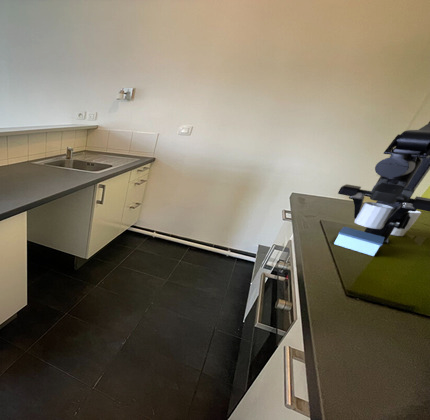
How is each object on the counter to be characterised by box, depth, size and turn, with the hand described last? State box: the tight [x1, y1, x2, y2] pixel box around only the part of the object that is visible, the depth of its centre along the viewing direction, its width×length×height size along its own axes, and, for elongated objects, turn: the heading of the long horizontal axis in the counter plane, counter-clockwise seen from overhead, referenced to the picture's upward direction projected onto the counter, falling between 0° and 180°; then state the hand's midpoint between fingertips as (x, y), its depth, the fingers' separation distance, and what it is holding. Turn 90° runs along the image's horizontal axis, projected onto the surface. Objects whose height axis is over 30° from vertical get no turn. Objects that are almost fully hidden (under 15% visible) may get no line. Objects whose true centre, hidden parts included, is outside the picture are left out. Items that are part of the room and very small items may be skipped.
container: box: [333, 226, 385, 257], centre depth 83 cm, size 9×9×5 cm
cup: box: [353, 201, 395, 229], centre depth 78 cm, size 6×6×7 cm
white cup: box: [390, 209, 422, 237], centre depth 95 cm, size 8×8×10 cm
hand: (369, 221), depth 79 cm, fingers closed on cup, 6 cm apart
